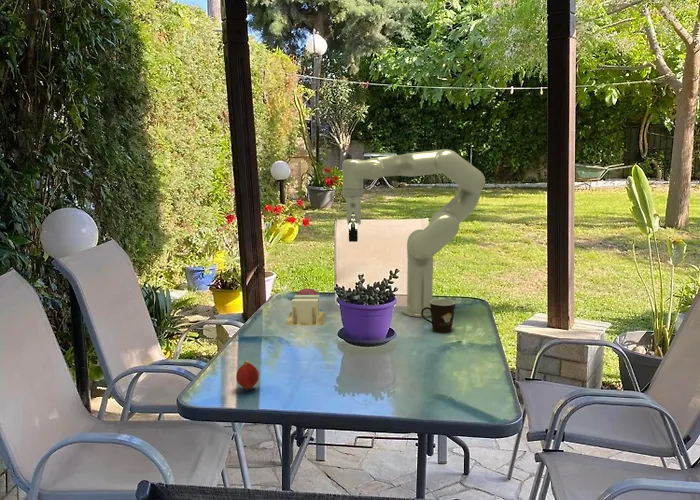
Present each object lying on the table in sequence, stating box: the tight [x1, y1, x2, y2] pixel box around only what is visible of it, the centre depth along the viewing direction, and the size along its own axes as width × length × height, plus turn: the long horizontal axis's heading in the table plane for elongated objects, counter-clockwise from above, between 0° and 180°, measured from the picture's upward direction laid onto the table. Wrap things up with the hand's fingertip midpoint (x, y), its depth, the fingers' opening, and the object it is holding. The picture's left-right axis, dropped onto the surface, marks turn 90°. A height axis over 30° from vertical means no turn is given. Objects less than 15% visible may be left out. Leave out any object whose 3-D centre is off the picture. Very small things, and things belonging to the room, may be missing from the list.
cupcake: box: [295, 275, 319, 295], centre depth 251 cm, size 9×8×12 cm
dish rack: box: [285, 307, 326, 326], centre depth 230 cm, size 13×17×8 cm
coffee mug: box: [421, 298, 456, 334], centre depth 220 cm, size 12×9×10 cm
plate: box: [293, 294, 321, 315], centre depth 235 cm, size 9×3×7 cm, turn 90°
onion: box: [236, 360, 259, 391], centre depth 169 cm, size 6×6×8 cm
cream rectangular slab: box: [291, 298, 318, 323], centre depth 225 cm, size 9×3×8 cm, turn 91°
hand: (353, 239), depth 237 cm, fingers open, 9 cm apart
